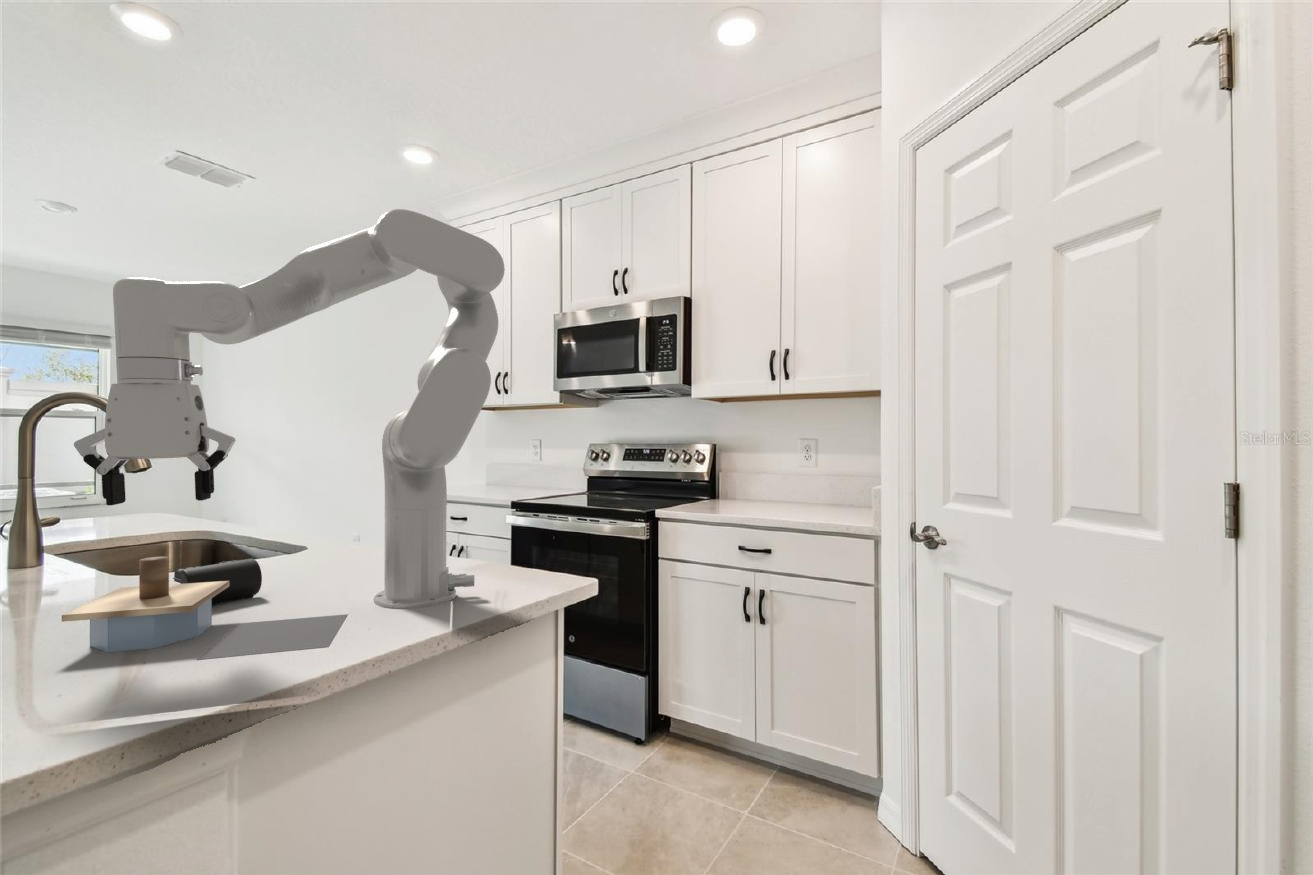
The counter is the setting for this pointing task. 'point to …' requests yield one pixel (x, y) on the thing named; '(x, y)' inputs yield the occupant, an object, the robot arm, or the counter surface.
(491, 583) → the counter surface
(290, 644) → the mat
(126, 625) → the bowl
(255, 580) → the end cap
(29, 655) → the counter surface
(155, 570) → the lid
